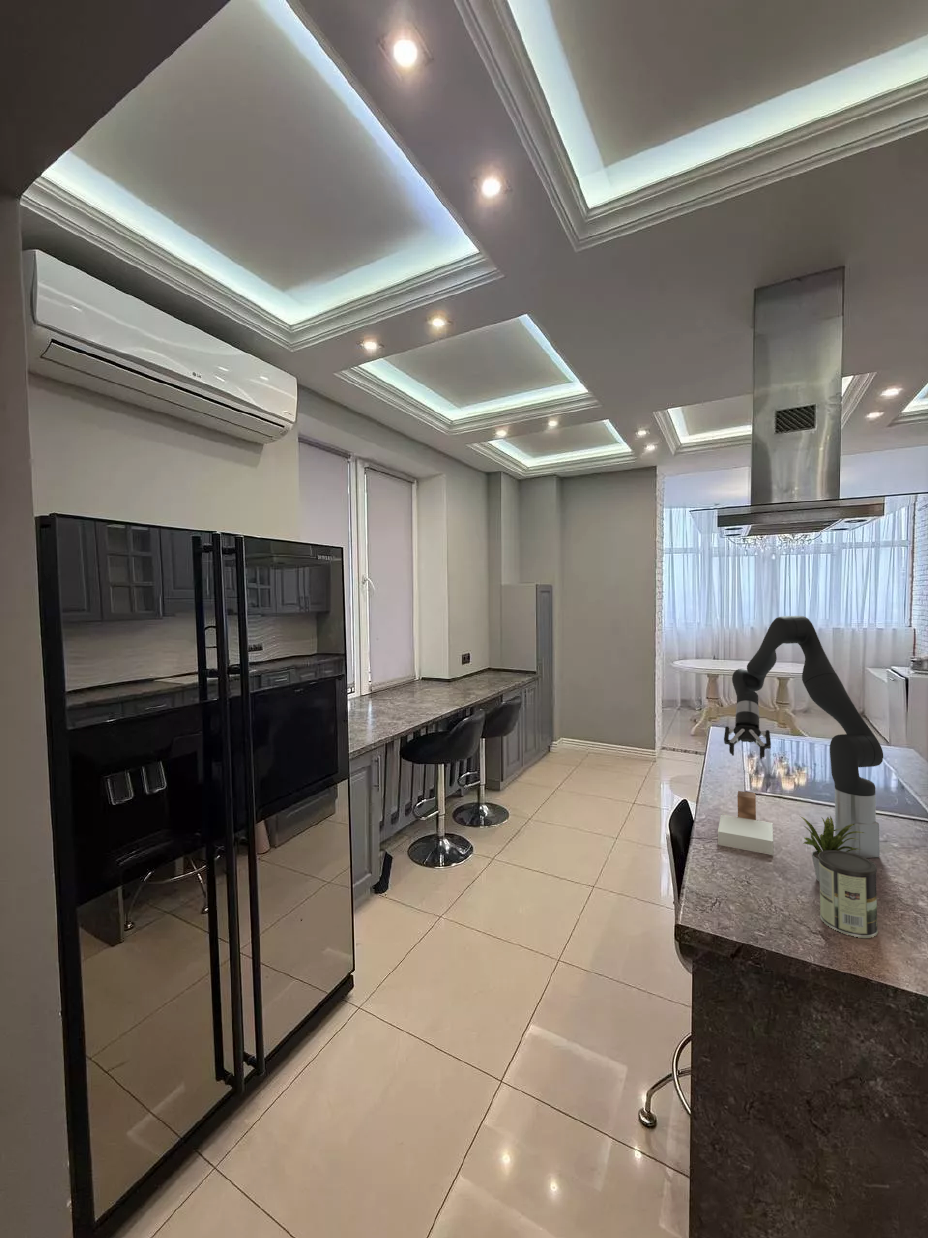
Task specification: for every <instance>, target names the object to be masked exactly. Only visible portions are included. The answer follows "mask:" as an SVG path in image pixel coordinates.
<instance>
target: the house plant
mask: <svg viewBox="0 0 928 1238" xmlns="http://www.w3.org/2000/svg"><path fill="white" fill-rule="evenodd" d="M829 815H830V814H829ZM799 817H801V819H802V820H803V821H804V822H805V823H806V825H807V826H808V827H809V828H808V827H806V826H805V825H803V827H804V828H805V829H806V830H807V831H808V832H809V834H810V838H809V837H804V839H805V840H806V841H805V842H803V843H802V845H809V846H813V847H814V849H815V850H814V851H812V852H811V859H812V862H813V868H814V872H815V873H814V874H815V878H816V880H817V882H819V883H820V878H819V859H818V854H819V853H820V852H822V851H826V850H838V851H840V850H842V849H845V848H849V849H850V850H848V851H846V852H849V851H851V850H856V849H858V848H852V847H849V846H843V847H840V846H841V845H842V844H843V843H845V841H847V840H850V839H856V838H848V839H846V840H845V841H844V842H843V841H842V840H843V839H844V838H846V837H845V836H847V835H849V834H852V833H864V832H859V831H852V832H849V833H847V834H845V833H846V832H847V831H848V830H849V829H852V828H850V827H851V826H853V825H854V824H850V825H848V826H846V827H844V828H842V830H841V831H840V832H839V833H838V834H837V836H835V835H834V834H835V831H836V830H840V829H835V823H834V820H833V818H832V816H831V815H830V816H827V818H825V819H824V818H823V817H821V819H822V822H823V825H824V827H823V833H820V835H819V834H818V831H816V828H815V827H814V826H813V825H812V823H810V821H808V820H807V819H806V818H805V817H803V816H800V815H799ZM844 834H845V835H844ZM843 835H844V836H843ZM842 836H843V837H842ZM857 840H859V839H857ZM839 847H840V848H839ZM838 848H839V849H838ZM859 850H861V849H859ZM856 851H857V850H856Z"/></svg>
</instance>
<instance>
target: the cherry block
mask: <svg viewBox="0 0 928 1238" xmlns="http://www.w3.org/2000/svg"><path fill="white" fill-rule="evenodd" d="M756 796H757V795H756V793H755V792H750V791H741V790H737V796H736V797H737V817H740V818H746V819H752V820H757V810H756V809H757V803H756V802H757V800H756Z"/></svg>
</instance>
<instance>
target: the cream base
mask: <svg viewBox="0 0 928 1238" xmlns="http://www.w3.org/2000/svg"><path fill="white" fill-rule="evenodd" d="M719 819H720V820H719V824H718V829H717V845H718V846H722V847H727V848H728V847H729V848H734V849H737V850H744V851H748V852H753V853H761V854H766V855H769V856H774V829H773V822H768V821H764V820H763V821H762V820H759V819H758V820H757V819H756V820H752V819H746V818H740V817H738V816H733V815H726V814H721V815H720V818H719Z"/></svg>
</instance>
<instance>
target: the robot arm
mask: <svg viewBox="0 0 928 1238" xmlns="http://www.w3.org/2000/svg"><path fill="white" fill-rule="evenodd" d="M762 639H763V640H762V642H761V644H760V647H759V648H758V649H757V651H756V653H755V654H754V655H753V657H752V658H751V659H750V661H749V662H748V663H747V665H746V669H743V668H738V669H736V670H734V672H733V674H732V677H731V681H732V686H733V689H734V692H735V696H736V708H735V719H734V721H735V722H734V723H735V726H734V727H733V728H731V727H729V726H725V728H724V729H725V730H724V734H723V735H724V736H723V743H724V744H725V745H728V746H729V749H728V750H729V754H731V756H735V745H737V744H739V743H740V742H742V743H746V742H747V743H754V744H755V745H756V746H758V747H759V759H760V760H763V759H764V758H765V756H766V755H765V750H766V749H768V750H771V747H772V746H771V745H772V743H771V734H770V733H771V732H770V730H768V729H766V730H765V731H764V730H762V731H761V730H760V708H759V695H758V693H757V691H760V690H761V689H762V688H763V686H764V682H765V679H766V677H767V674H769V672H770V671H771V670H772V669H773V668H774V666H775V665H776V662H777V653H776V651H777V649H778V648H779V647H780V646H781V645H783V644H785V645H787V644H797V645H799V646H800V648H801V650H802V652H803V655H804V665H803V668H802V672H801V674H802V675H801V679H802V680H801V681H802V684H803V685H804V687H805V690H806V691H807V693H808V695H809V698H810V699H811V700H812V701H813V703H814V704H816V705H817V706H818V707H819V708H820V709H821V710H823V711H824V712H825V713H826V714H828V715H830V717H832V718H833V719H834V720H835V721H836V722H837V723H838V724H839V725H840V726H841V728H842V729H843V730H844V732H845V733H844V734H843V733H842V734H837V735H834V736H833V737H832V738H831V740H830V742H829V743H830V744H829V759H830V770H831V776H832V780H833V783H834V830H835V829H840V830H836V831H834V834H835V835H834V836H837V834H838V833H839V832H840V831H841V830H842V828H844V827H846V826H848V825H850V824H854V825H853V826H851V827H850V828H852V829H849V830H848V831H847V832H846V833H845V834H847V833H849V832H852V831H859V832H864V833H852V834H849V835H847V836H845V837H846V838H844V839H843V840H842V841H843V842H844V841H845V840H846V839H848V838H856V839H850V840H847V841H845V843H843V844H842V845H841V846H840V847H843V846H849V847H852V848H858V849H856V850H857V851H856V850H851V851H849V853H853V854H856V855H859V856H862V857H864V858H867V859H869V858H880V855H881V854H880V851H881V850H880V823H879V822H877V817H876V815H877V814H876V812H877V811H876V808H877V807H876V805H877V804H876V784H875V783H874V782H873V781H872V780H869V779H866V778H864V777H862V776H861V777H860V771H859V768H871V767H872V768H873V767H878V766H880V765H881V764H882V762H883V761H884V752H883V751H884V750H883V747H882V745H881V743H880V742H879V740H878V739H877V737H876V736H875V734H874V732H873V731H872V730H871V728H870V727H869V725H868V724H867V723H866V721H865V720H864V718H863V716H861V714H860V712H859V711H858V709H857V708H856V706H855V704H854V702H853V701H852V700H851V698H850V696H849V694H848V693H847V691H846V689H845V687H844V684H843V683H842V681H841V679H840V678H839V676H838V674H837V672H836V670H835V668H834V667H833V664H831V662H830V660H829V658H828V656H827V654H826V652H825V651H824V648H823V646H822V643H821V641H820V639H819V636H818V634H817V631H816V629H815V626H814V625H813V622H811V620H810V619H809V618H808V617H807V616H805V615H804V616H803V615H781V616H778V617H776V618H774V619H773V621H772V622H770V625H769V627H768V629H767V632H766V634H765V635H764V637H763V638H762ZM732 733H734V735H733V737H732V738H731V739H729V738H730V735H732ZM760 736H762V738H763V739H765V743H764V741H762V740H761V738H760ZM845 834H844V835H845ZM844 835H843V836H844ZM843 836H842V837H843ZM857 839H859V840H857ZM840 847H839V848H840ZM839 848H838V849H839ZM859 849H861V850H859ZM848 850H850V849H849V848H845V849H842V850H839V851H845V852H846V851H848Z"/></svg>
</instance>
